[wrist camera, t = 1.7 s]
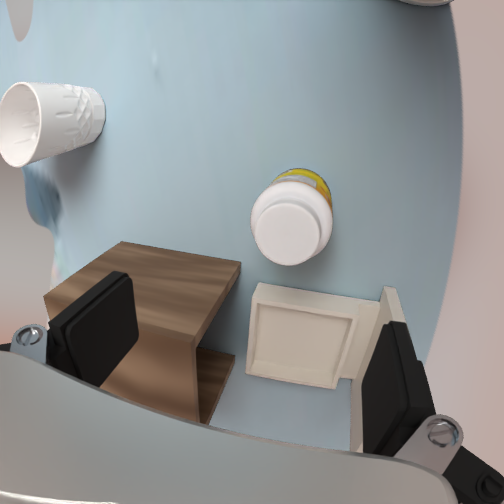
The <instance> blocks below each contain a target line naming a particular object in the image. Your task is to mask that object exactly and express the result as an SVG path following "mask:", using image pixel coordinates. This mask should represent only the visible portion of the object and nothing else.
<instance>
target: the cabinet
mask: <svg viewBox="0 0 504 504" xmlns="http://www.w3.org/2000/svg"><path fill="white" fill-rule="evenodd" d="M240 266H241V262H238V261H232V260H226V259H221V258H215V257H209V256H203V255H197V254H191V253H186V252H180V251H174V250H168V249H163V248H157V247H151V246H145V245H140V244H134V243H129V242H123V241H121V242H120V243H118V244H117V245H115V246H114V247H112V248H111V249H109V250H108V251H106V252H105V253H103V254H102V255H100V256H99V257H98V258H96V259H95V260H93V261H92V262H90V263H89V264H87V265H86V266H85V267H83V268H82V269H80V270H79V271H77V272H76V273H75V274H73V275H72V276H70V277H69V278H68V279H66V280H65V281H63V282H62V283H61V284H59V285H58V286H57V287H55V288H54V289H52V290H51V291H50V292H48V293H47V294H46V295H44V296H43V297H44V301H45V305H46V308H47V312H48V315H49V319H50V321H51V320H52V319H53V318H54V317H55V316H57V315H58V314H59V313H60V312H62V311H63V310H64V309H65V308H66V307H68V306H69V305H70V304H71V303H73V302H74V301H75V300H76V299H78V298H79V297H80V296H81V295H83V294H84V293H85V292H86V291H88V290H89V289H90V288H92V287H93V286H94V285H95V284H97V283H98V282H99V281H101V280H102V279H103V278H104V277H106V276H107V275H108V274H110V273H111V272H112V271H119V272H124V273H127V274H128V275H129V277H130V278H131V279H132V281H133V290H134V299H135V307H136V315H137V323H138V330H139V338H138V341H137V342H136V344H135V345H134V346H133V347H132V348H131V350H130V351H129V352H128V353H127V354H126V356H125V357H124V358H123V359H122V361H121V362H120V363H119V364H118V365H117V367H116V368H115V369H114V370H113V372H112V373H111V374H110V375H109V376H108V378H107V379H106V380H105V381H104V383H103V384H102V385H101V386H100V388H101V389H103V390H106V391H108V392H110V393H113V394H115V395H118V396H121V397H123V398H126V399H128V400H131V401H134V402H137V403H139V404H142V405H145V406H148V407H151V408H153V409H156V410H159V411H162V412H165V413H168V414H172V415H175V416H178V417H181V418H185V419H188V420H191V421H195V422H198V423H202V424H205V425H209V422H210V420H211V418H212V415H213V413H214V411H215V408H216V406H217V404H218V401H219V399H220V396H221V394H222V392H223V389H224V387H225V384H226V382H227V380H228V377H229V375H230V372H231V370H232V368H233V365H234V363H235V355H230V354H226V353H221V352H217V351H213V350H209V349H204V348H200V347H197V346H198V344H199V342H200V340H201V339H202V337H203V335H204V334H205V332H206V330H207V328H208V327H209V325H210V323H211V322H212V320H213V318H214V317H215V315H216V313H217V311H218V310H219V308H220V306H221V305H222V303H223V301H224V299H225V298H226V296H227V294H228V293H229V291H230V289H231V287H232V286H233V284H234V282H235V281H236V279H237V277H238V275H239V274H240Z"/></svg>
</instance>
